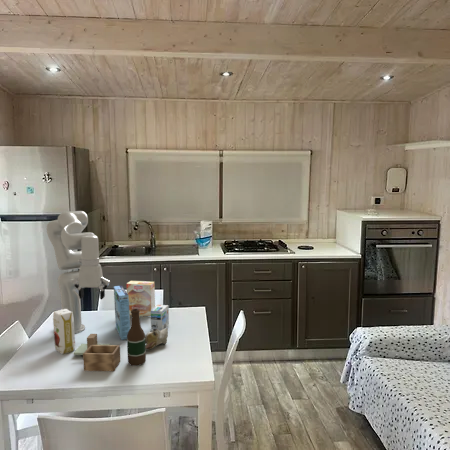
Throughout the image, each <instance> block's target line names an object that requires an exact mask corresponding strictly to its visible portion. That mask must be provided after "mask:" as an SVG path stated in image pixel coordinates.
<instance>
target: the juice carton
mask: <svg viewBox="0 0 450 450" xmlns="http://www.w3.org/2000/svg"><path fill="white" fill-rule="evenodd" d="M52 317H53V318H52V321H53V322H52V325H53V338H54V347H55V350H56V352H58V353H59V354H61V355H65V354H68V353H71V352H75V351H76V341H75V339H76V337H75V334H74V317H73V312H71V311H69V310H67V309H63V310H62V309H59V310H55V311H53V316H52Z"/></svg>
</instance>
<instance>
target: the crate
mask: <svg viewBox="0 0 450 450" xmlns="http://www.w3.org/2000/svg"><path fill="white" fill-rule="evenodd" d="M82 359H83V360H82V362H83V371H84V372H115V371H116V369H117V368H118V366H119V365H120V363H121V345H120V344H119V345H117V344H115V345H114V344H112V345H90V347H89V348H88V349H87V350H86V351H85V352H84V353H83V355H82Z"/></svg>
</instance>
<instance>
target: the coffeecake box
mask: <svg viewBox="0 0 450 450" xmlns="http://www.w3.org/2000/svg"><path fill="white" fill-rule="evenodd" d="M125 285H126V292H127V294H128V295H129V314H130V315H132V313H131V310H132V309H139V311H140V312H139V317H143V316H151V310H152V309H153V308H154V307H155V306H156V298H155V297H156V295H155V294H156V293H155V290H156V288H155V281H145V280H130V281H128V282H126V283H125Z"/></svg>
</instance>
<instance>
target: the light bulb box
mask: <svg viewBox="0 0 450 450" xmlns="http://www.w3.org/2000/svg"><path fill="white" fill-rule="evenodd" d="M169 310H170V308H169V305H168V304H166V305H165V304H155V307H154V308H153V309H152V310H151V317H150V328H151V329H150V330H151V331H153V329H158V330H159V331H161V330H163V329H166V328H167V327H168V326H169V324H170V316H169V315H170V313H169Z"/></svg>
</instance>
